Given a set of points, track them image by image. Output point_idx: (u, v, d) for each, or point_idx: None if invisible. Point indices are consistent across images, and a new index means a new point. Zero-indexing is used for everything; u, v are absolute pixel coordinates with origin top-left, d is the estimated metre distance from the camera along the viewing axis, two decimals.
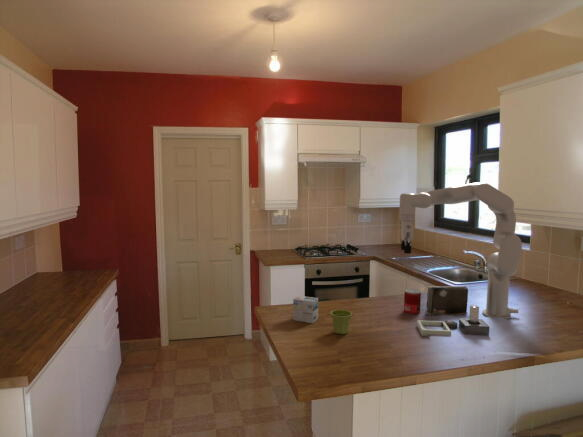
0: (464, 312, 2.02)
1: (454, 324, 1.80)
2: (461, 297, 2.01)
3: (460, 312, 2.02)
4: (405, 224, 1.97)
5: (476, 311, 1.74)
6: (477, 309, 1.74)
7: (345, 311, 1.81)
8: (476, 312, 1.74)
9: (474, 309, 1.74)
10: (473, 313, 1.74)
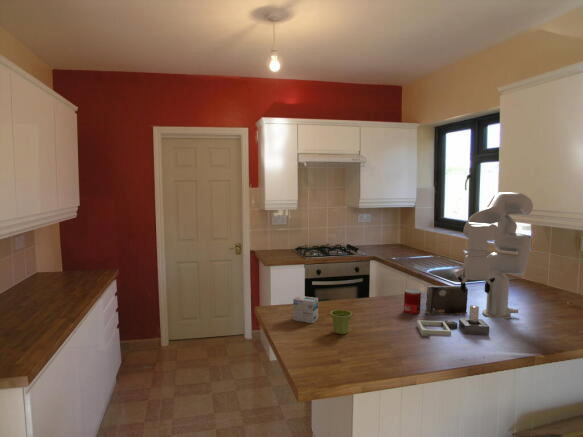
0: (464, 312, 2.03)
1: (454, 324, 1.80)
2: (460, 297, 2.02)
3: (460, 312, 2.02)
4: (488, 260, 1.71)
5: (476, 311, 1.74)
6: (477, 309, 1.74)
7: (345, 311, 1.81)
8: (476, 312, 1.74)
9: (474, 309, 1.74)
10: (472, 313, 1.74)
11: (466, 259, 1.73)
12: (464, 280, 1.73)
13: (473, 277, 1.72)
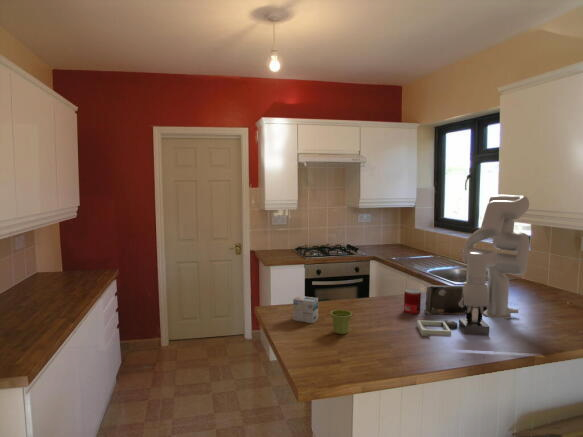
0: (463, 311, 2.03)
1: (454, 324, 1.80)
2: (460, 297, 2.02)
3: (459, 311, 2.03)
4: (487, 287, 1.72)
5: (476, 311, 1.74)
6: (477, 309, 1.74)
7: (345, 311, 1.81)
8: (476, 312, 1.74)
9: (474, 309, 1.74)
10: (473, 313, 1.74)
11: (465, 286, 1.74)
12: (468, 309, 1.74)
13: (472, 304, 1.73)
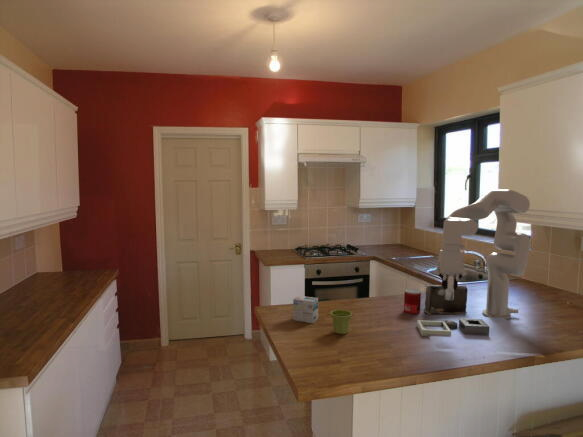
0: (463, 311, 2.04)
1: (454, 324, 1.80)
2: (460, 296, 2.03)
3: (459, 311, 2.03)
4: (462, 254, 1.72)
5: (452, 279, 1.73)
6: (453, 276, 1.73)
7: (345, 311, 1.81)
8: (452, 279, 1.73)
9: (450, 276, 1.73)
10: (448, 281, 1.74)
11: (441, 253, 1.74)
12: (444, 277, 1.74)
13: (447, 271, 1.73)
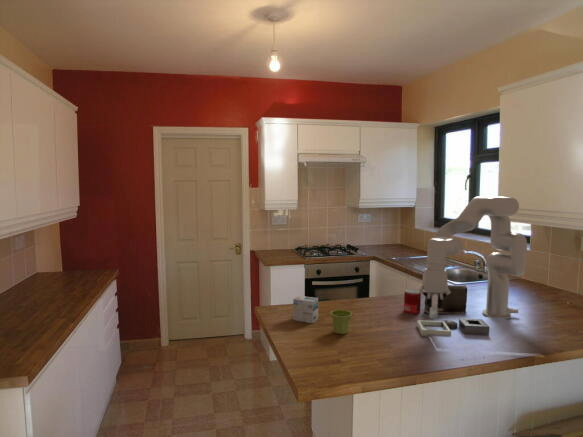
0: (463, 311, 2.04)
1: (454, 324, 1.80)
2: (459, 296, 2.03)
3: (459, 311, 2.03)
4: (446, 274, 1.74)
5: (436, 297, 1.75)
6: (437, 295, 1.75)
7: (345, 311, 1.81)
8: (436, 298, 1.75)
9: (434, 295, 1.75)
10: (432, 299, 1.76)
11: (425, 272, 1.76)
12: (428, 295, 1.76)
13: (432, 290, 1.75)
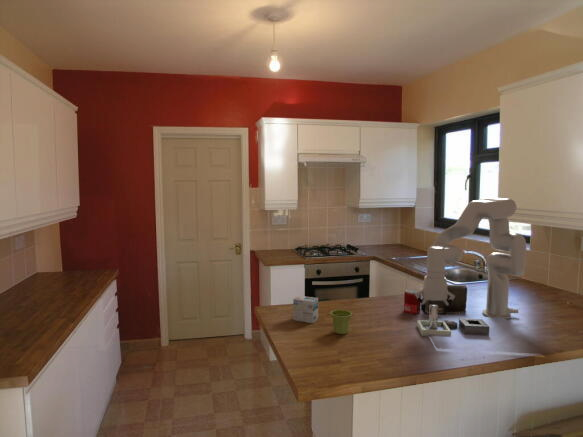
0: (463, 311, 2.04)
1: (454, 324, 1.80)
2: (459, 296, 2.03)
3: (459, 311, 2.04)
4: (446, 281, 1.74)
5: (435, 310, 1.76)
6: (436, 307, 1.76)
7: (345, 311, 1.81)
8: (435, 310, 1.76)
9: (433, 308, 1.76)
10: (431, 312, 1.77)
11: (425, 280, 1.76)
12: (424, 301, 1.76)
13: (431, 298, 1.75)
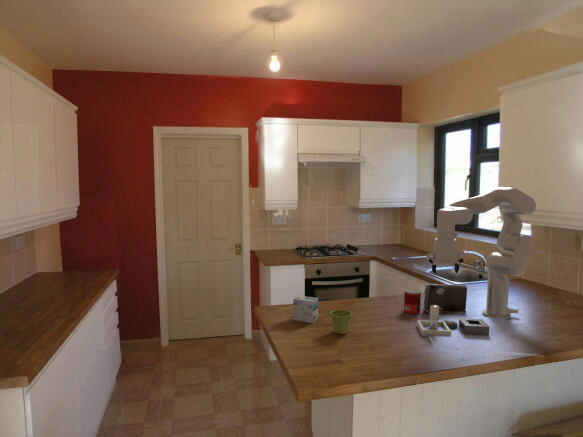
0: (463, 310, 2.05)
1: (454, 324, 1.80)
2: (459, 296, 2.04)
3: (458, 310, 2.04)
4: (456, 242, 1.80)
5: (436, 311, 1.76)
6: (437, 308, 1.76)
7: (345, 311, 1.81)
8: (436, 311, 1.76)
9: (434, 308, 1.76)
10: (432, 312, 1.76)
11: (435, 242, 1.81)
12: (434, 262, 1.82)
13: (443, 259, 1.81)
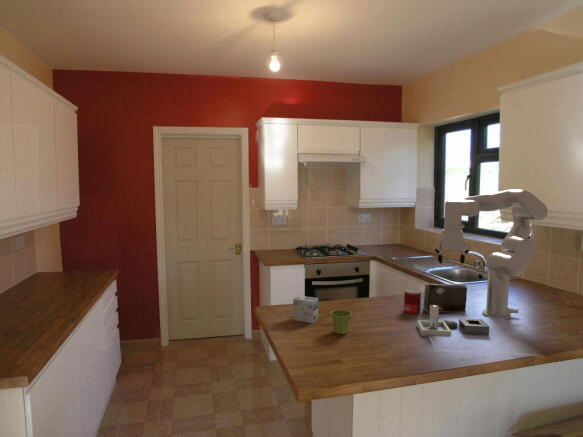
0: (462, 310, 2.05)
1: (454, 324, 1.80)
2: (459, 295, 2.04)
3: (458, 310, 2.05)
4: (462, 233, 1.85)
5: (436, 310, 1.76)
6: (436, 308, 1.76)
7: (345, 311, 1.81)
8: (435, 311, 1.76)
9: (433, 308, 1.76)
10: (432, 312, 1.76)
11: (442, 232, 1.87)
12: (441, 252, 1.87)
13: (449, 249, 1.86)
